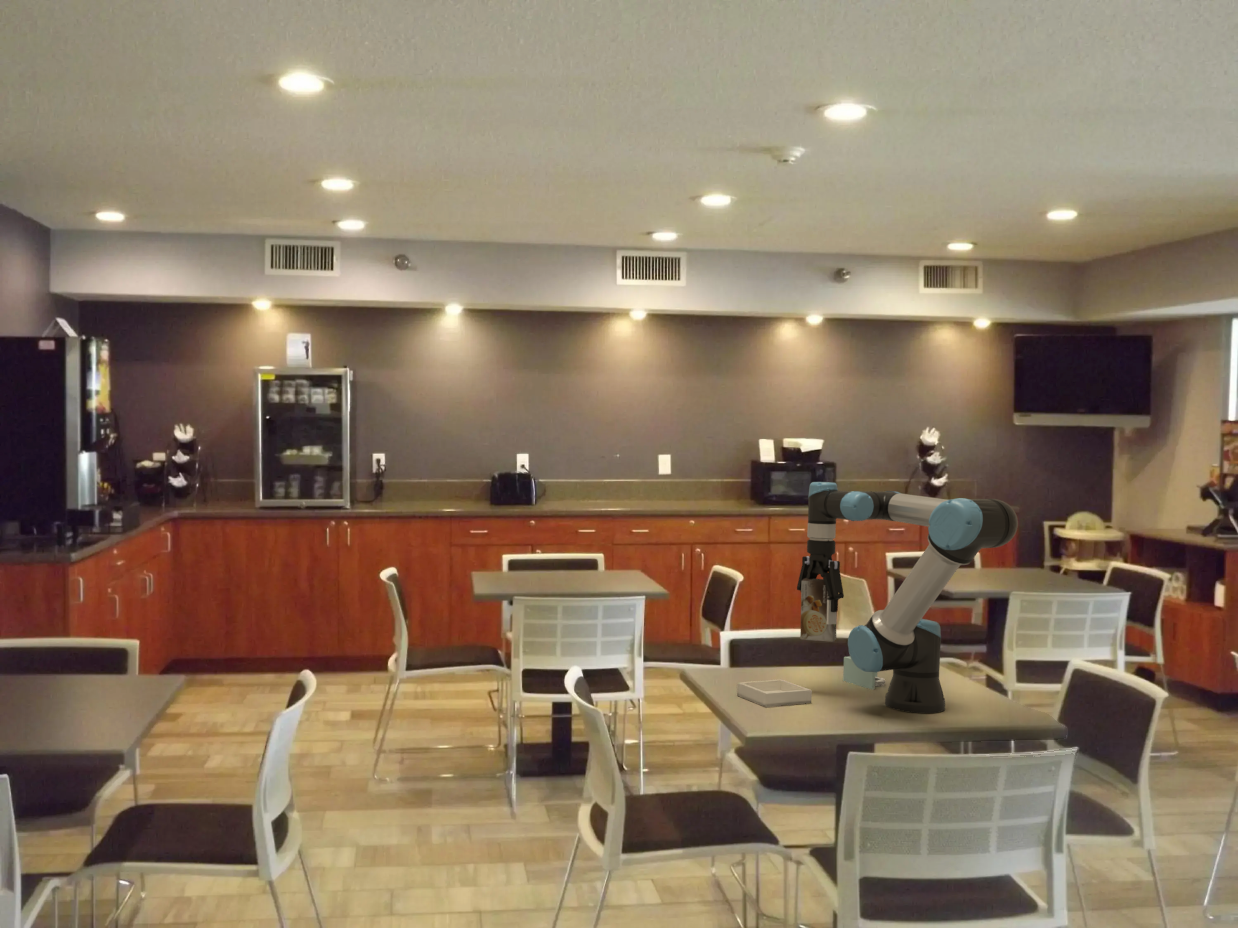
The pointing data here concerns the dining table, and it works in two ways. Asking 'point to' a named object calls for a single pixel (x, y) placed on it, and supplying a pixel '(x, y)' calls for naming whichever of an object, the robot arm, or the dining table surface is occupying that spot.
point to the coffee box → (815, 612)
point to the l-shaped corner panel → (860, 675)
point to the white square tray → (774, 693)
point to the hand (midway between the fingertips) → (818, 620)
